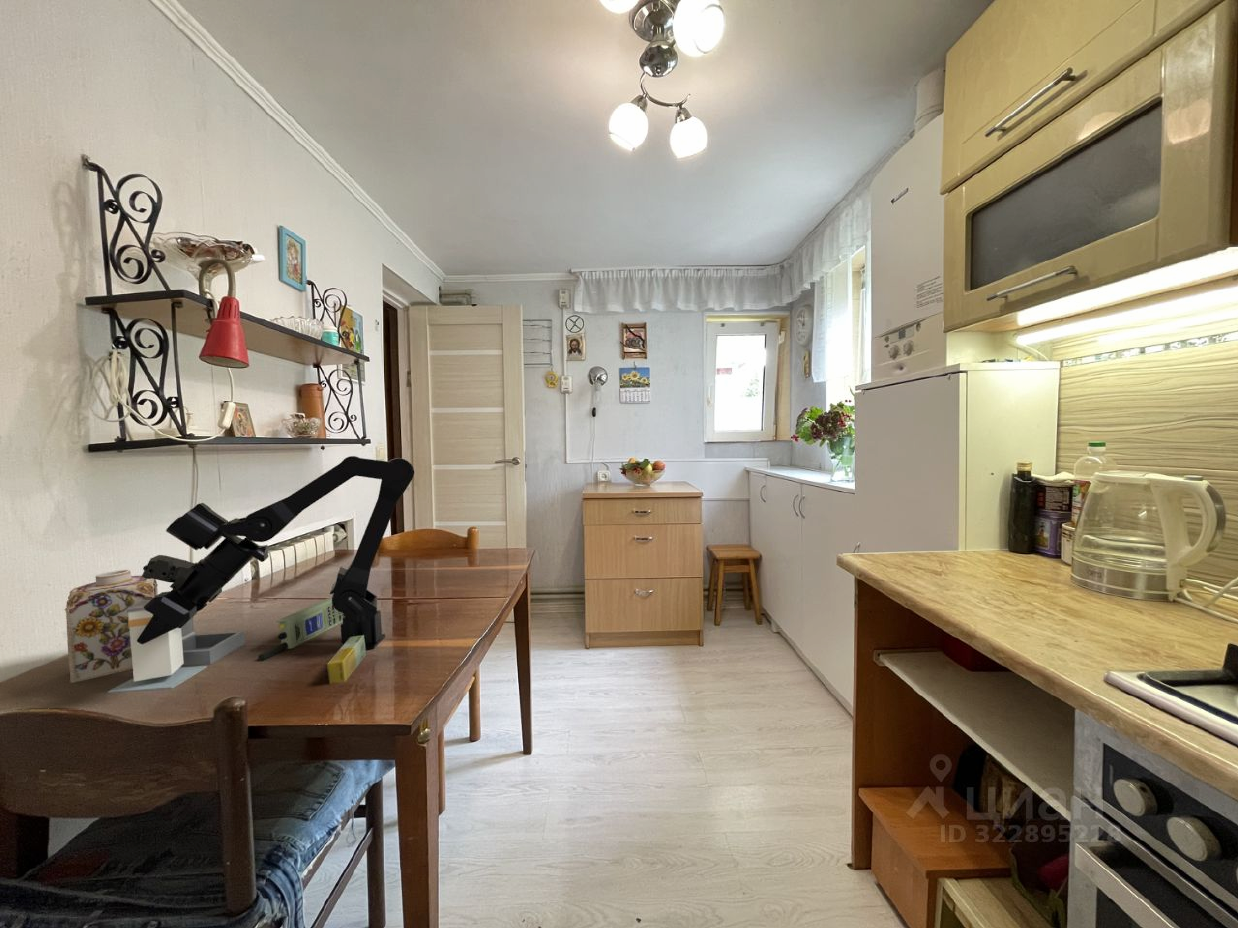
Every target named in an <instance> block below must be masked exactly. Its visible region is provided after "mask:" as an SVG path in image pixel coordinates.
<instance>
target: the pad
mask: <svg viewBox="0 0 1238 928" xmlns="http://www.w3.org/2000/svg"><path fill="white" fill-rule="evenodd" d="M207 668H208V666H207V665H196V666H182V667H179V668H178V669H177V670H176V671H175V672H174V673H173V674H172V675H169V676H163V677H157V678H151V679H146V680H140V681H134V677H132V678H131V679H129V680H127V681H126V682H125V681H124V682H123V683H121V684H119V685H117V686H116V687H114V688H111V689H110V690H108V691H107V693H106V694H119V693H130V692H142V691H143V692H145V691H155V690H156V691H158V690H169V689H171V690H173V688H175V687H177V686H178V685H180V684H182V683H183V682H185V681H187V680H188V679H190V678H191V677H193V676H195V675H196V674H198V673H200V672H201V671H203V670H205V669H207Z"/></svg>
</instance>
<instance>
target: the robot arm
mask: <svg viewBox="0 0 1238 928" xmlns="http://www.w3.org/2000/svg"><path fill="white" fill-rule="evenodd" d="M414 475H415V469H414V466H413V464H412V463H410V461H408V460H407V459H406V458H405V459H404V458H401V457H396V458H393V459H390V460H389V461H387V460H378V459H371V458H363V457H358V456H357V455H351V456H347V457H345V458H343V459H342V461H341V462H340V463H338V464H337V465H335V466H334V467H332V468H331V469H329V470H328V471H326V472H325V473H323V474H321V475H320V476H318V477H317V478H314V480H312V481H310V482H309V483H308V484H306V485H304V486H303V487H301V488H300V489H298V490H297V491H295V492H293V493H292V494H291V495H289V496H287V497H285V498H282V499H279V500H278V501H276V502H273V503H271V504H269V505H267V506H264V507H262V508H260V509H258V510H255V511H254V512H251V513H249V514H248V515H246V517H241V518H237V517H236V518H233V519H230V520H227V519H225V518H224V517H223V516H221V515H220V514H218V513H217V512H215V511H214V510H213V509H212V508H211V507H210V506H208V505H207V504H206V503H204V502H199V503H197V504H196V505H195V506H193V508H191V509H190V510H188V511H187V512H185V513H184V514H183V515H182V516H178V517H177V518H175V520H174V521H173V522H171V524H170V525H169V526H167V528H166V530H165V532H166V533H167V534H169V535H171V536H173V537H174V538H175V539H177V540H179V541H181V543H183V544H185V545H187V546H189V548H192V549H193V550H195V551H198V550H202V549H203V548H204V549H205V550H209V549H210V548H211V547H213V546H214V545H215V544H216V543H217V542H218V541H219V540H221V539H222V538H224V539H223V540H222V541H221V542H220V543H218V544H217V546H215V547H214V548H213V549H212V550H211V551H210V552H209V553H208V554H207V555H206V556H205V557H204V558H201V559H200V560H199V561H198V562H192V561H188V560H186V559H181V558H177V557H173V556H168V555H163V554H158V555H156V556H154V557H151V558H149V561H148V562H147V564H146V565H144V566H143V568H142V569H143V573H142V574H141V576H142V577H144V578H147V579H156V581H157V580H158V581H162V582H166V583H171V584H170V585H169V588H170V589H171V591H164V592H160V593H158V595H157V596H155V597H154V598H153V599H152V600H150V601H149V602H148V603H147V604H146V605H145V606H144V609H145V610H146V611H148V612H150V613H151V614H153V616H152V618H151V620H150V621H149V623H148V624H147V626H146V627H145V629H144V630H143V632H142V633H141V635H140V636H139V638H138V639H137V642H138V643H140V644H145V643H147V642H149V641H151V640H153V639H155V638H157V637H159V636H161V635H163V634H165V633H167V632H169V631H171V630H174V629H176V628H182V627H183V626H184V625H185V624H186V623H187V622H188V621H189V620H190V619H191V618H193V619H194V617H195V616H196V615H197V614H198V612H200V611H201V610H203V609H204V608H205V607H206V606H208V604H207V603H212V602H213V601H214V600H215V599H216V598H217V597H218V596H220V594H221V593H222V592H223V588H224V586H226V585H227V584H228V583H229V582H230V581H232V580H233V578H235V576H236V575H237V574H238V573H240V571H241V570H242V569H243V568H244V567H245V566H246V565H247V564H248V563H249V562H251V560H252V559H254V558H255V559H256V560H257V561H259V562H261V563H263V562H265V561H266V560H268V558H269V553H268V550H269V549H268V548H269V545H268V544H264V545H259V544H258V543H264V542H268V541H269V540H272V539H273V538H275V536H277V535H278V534H279V533H281V532H282V531H283V530H284V529H285V528H286V527H287V526H288V525H289V524H290V523H291V522H292V521H294V519H296V518H297V516H299V515H300V514H301V513H302V512H303V511H304V510H306V509H307V508H309V507H310V506H311V505H313V504H315V503H316V502H318V501H319V500H321V499H322V498H324V497H325V496H326V495H328V494H330V493H331V492H333V491H334V490H336V489H337V488H338V487H340V486H342V485H343V484H345V483H346V482H348V481H349V480H350V479H353V478H354V477H363V478H369V479H370V478H371V479H376V480H380V481H381V482H380V485H379V486H380V487H379V491H378V492H379V493H378V496H377V499H376V502H375V505H374V508H373V509H372V513H371V515H370V518H369V520H368V523H367V525H366V526H365V527H366V528H365V530H364V533H363V535H362V538H361V539H360V542H359V545H358V546H357V547H358V548H357V550H356V552H355V554H354V557H353V559H352V561H351V563H350V564H349V566H348V567H347V568H345V567H342V566H340V567H339V569H338V572H337V576H336V581H335V582H334V583H333V584H332V586H331V589H330V592H329V594H330V595H332V596H333V597H332V596H331V597H332V604H333V606H334V608H335V609H336V610H337V611H339V612H342V613H343V614H344V617H343V623H342V624H341V623H340V636H341V638H340V639H341V645H342V646H343V645H344V644H345V643H346V641H347V640H348V639H349V638H350V637H352V636H357V635H364V638H365V645H366V650H369V649H370V650H371V649H375V648H376V647H377V646H378V645H379V644H380V643H381V641H383V640H384V639H385V638H386V633H383V630H382V629H383V628H382V612H381V611H382V610H378V595H376V594H375V593H373V592H371V591H370V590H368V587H369V586H368V584H369V580H370V574H371V570H372V569H371V568H372V566H373V563H374V561H375V558H376V556H377V553H378V551H379V548H380V545H381V544H382V541H383V537H384V536H385V533H386V530H387V528H388V526H389V524H390V521H391V518H392V515H393V513H394V511H395V507H396V505H397V504H398V502H399V500H400V499H401V498H402V497H403V495H404V493H405V491H406V490H407V488H408V487H409V486H410V483H411V482H412V480H413V479H414ZM241 537H244V538H241ZM256 542H257V543H256Z"/></svg>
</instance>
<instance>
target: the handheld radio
mask: <svg viewBox="0 0 1238 928" xmlns="http://www.w3.org/2000/svg"><path fill="white" fill-rule="evenodd" d="M332 597H333V595H332V596H329V597H328V598H325V599H324V600H320V601H319V602H317V603H314V604H312V605H309V606H307V607H305V608H303V609H300V610H298V611H296V612H294V613H291V614H289V615H287V616H284V617H282V618H279V620H277V621H276V622H277V623H279V625H277V629H278V630H279V632H280V633H279V634H278V635H277V639H278V640H280V641H281V643H280V644H279V645H277V646H274V647H272V648H270V649H268V650H266V651H264V652H262V653H261V654H259V655H258V658H257V659H258V660H259V661H262V662H263V661H265V660H267V659H268V658H271V657H273V656H274V655H277V654H278V653H280V652H281V651H284V650H287V649H289V650H290V649H294V648H296V647H298V646H299V645H301V644H303V643H305V642H307V641H309V640H311V639H313V638H315V637H316V636H318V635H321V634H323V633H324V632H326V631H328V630H330V629H332V628H334V627H336V626H337V625H338V626H339V625H341V624H343V617H344V614H343V613H342V612H339V611H337V610H336V609H335V608H334V606H333V604H332Z"/></svg>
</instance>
